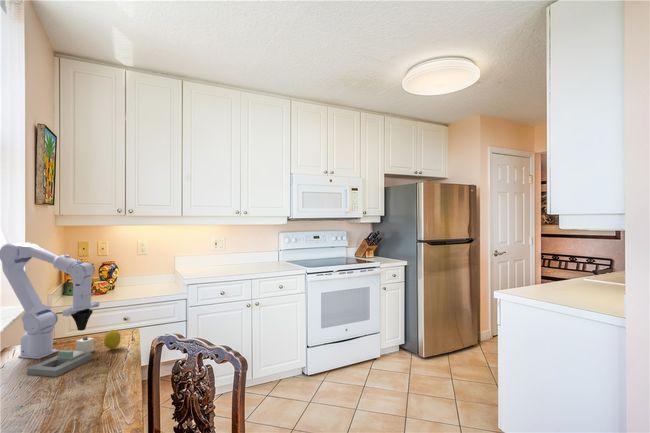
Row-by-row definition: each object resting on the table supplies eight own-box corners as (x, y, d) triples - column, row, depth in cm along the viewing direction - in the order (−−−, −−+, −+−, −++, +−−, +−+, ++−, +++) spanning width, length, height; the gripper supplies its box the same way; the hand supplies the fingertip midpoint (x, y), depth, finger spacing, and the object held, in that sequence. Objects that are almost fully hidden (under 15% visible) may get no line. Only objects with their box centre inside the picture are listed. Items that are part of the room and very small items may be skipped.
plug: (75, 354, 132) (75, 338, 132) (84, 350, 137) (84, 334, 137) (85, 354, 132) (85, 339, 132) (94, 350, 136) (94, 335, 136)
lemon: (114, 352, 134) (115, 332, 134) (100, 352, 134) (101, 331, 134) (123, 347, 140) (123, 327, 140) (109, 347, 140) (110, 327, 140)
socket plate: (26, 374, 115) (27, 368, 115) (66, 356, 130) (66, 351, 130) (55, 376, 113) (55, 370, 113) (92, 358, 128) (92, 353, 128)
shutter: (56, 358, 123) (56, 351, 123) (71, 352, 129) (71, 345, 129) (71, 359, 122) (71, 352, 122) (85, 353, 128) (85, 346, 128)
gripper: (74, 299, 124) (73, 336, 124) (106, 291, 139) (105, 324, 139) (57, 298, 126) (57, 335, 125) (91, 290, 140) (90, 323, 140)
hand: (81, 329), depth 132 cm, fingers closed
